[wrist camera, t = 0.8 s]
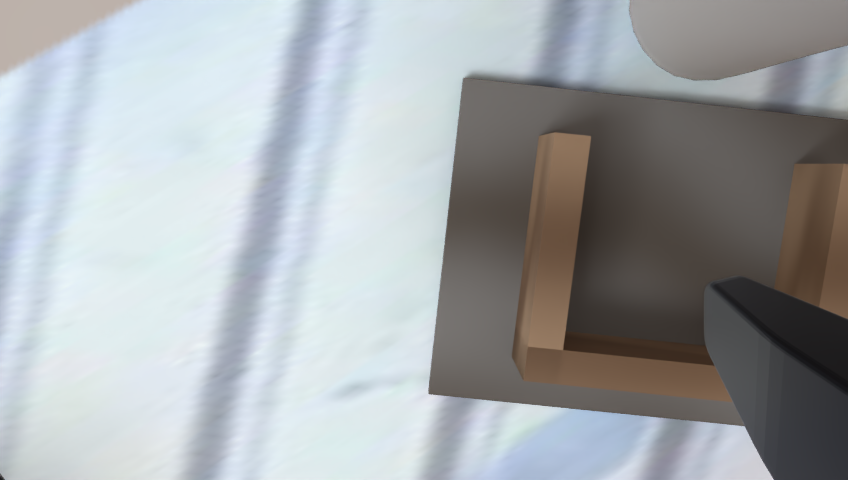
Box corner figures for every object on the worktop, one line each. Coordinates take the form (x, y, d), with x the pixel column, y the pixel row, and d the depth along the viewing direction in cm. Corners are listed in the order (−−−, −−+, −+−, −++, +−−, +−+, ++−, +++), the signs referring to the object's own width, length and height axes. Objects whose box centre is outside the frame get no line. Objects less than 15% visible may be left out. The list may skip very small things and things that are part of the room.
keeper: (850, 432, 23) (912, 471, 20) (428, 390, 23) (429, 423, 20) (905, 128, 22) (979, 122, 19) (462, 79, 22) (469, 66, 19)
